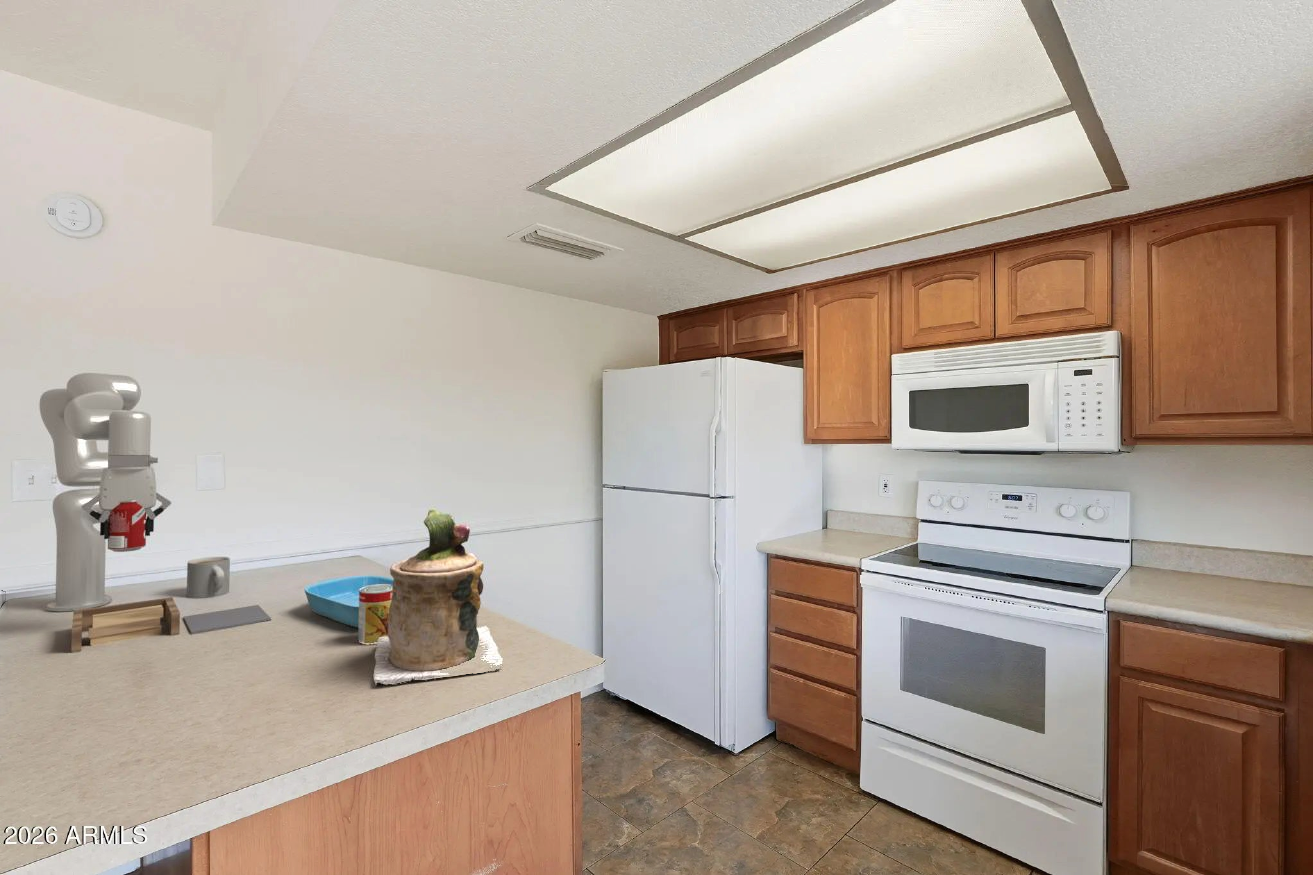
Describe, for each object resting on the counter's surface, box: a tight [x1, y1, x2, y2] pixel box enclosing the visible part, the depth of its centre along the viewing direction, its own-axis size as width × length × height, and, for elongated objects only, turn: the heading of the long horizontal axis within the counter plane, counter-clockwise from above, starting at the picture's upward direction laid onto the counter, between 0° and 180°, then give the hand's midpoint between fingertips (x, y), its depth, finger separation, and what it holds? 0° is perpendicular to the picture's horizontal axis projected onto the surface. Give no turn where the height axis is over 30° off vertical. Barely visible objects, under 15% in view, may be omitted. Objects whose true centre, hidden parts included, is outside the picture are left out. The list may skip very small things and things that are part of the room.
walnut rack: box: [70, 596, 181, 653], centre depth 137 cm, size 18×18×5 cm
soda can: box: [107, 501, 147, 553], centre depth 139 cm, size 7×7×12 cm
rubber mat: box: [183, 604, 272, 635], centre depth 148 cm, size 16×16×1 cm
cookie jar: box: [372, 508, 504, 685], centre depth 125 cm, size 25×25×32 cm
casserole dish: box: [304, 574, 394, 629], centre depth 155 cm, size 37×22×7 cm, turn 58°
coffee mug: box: [186, 556, 231, 599], centre depth 171 cm, size 13×10×10 cm
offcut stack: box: [88, 605, 163, 646], centre depth 134 cm, size 4×13×6 cm, turn 135°
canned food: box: [357, 584, 393, 643], centre depth 136 cm, size 8×8×12 cm
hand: (127, 536), depth 139 cm, fingers closed on soda can, 6 cm apart
